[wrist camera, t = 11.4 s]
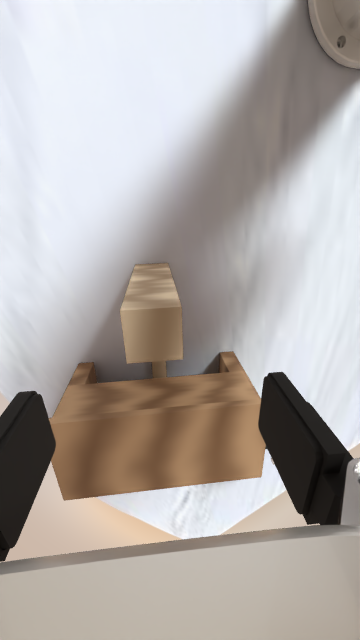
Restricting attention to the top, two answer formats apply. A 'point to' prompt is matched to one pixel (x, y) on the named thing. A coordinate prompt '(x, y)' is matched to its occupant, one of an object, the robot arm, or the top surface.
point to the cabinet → (156, 432)
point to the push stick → (152, 318)
